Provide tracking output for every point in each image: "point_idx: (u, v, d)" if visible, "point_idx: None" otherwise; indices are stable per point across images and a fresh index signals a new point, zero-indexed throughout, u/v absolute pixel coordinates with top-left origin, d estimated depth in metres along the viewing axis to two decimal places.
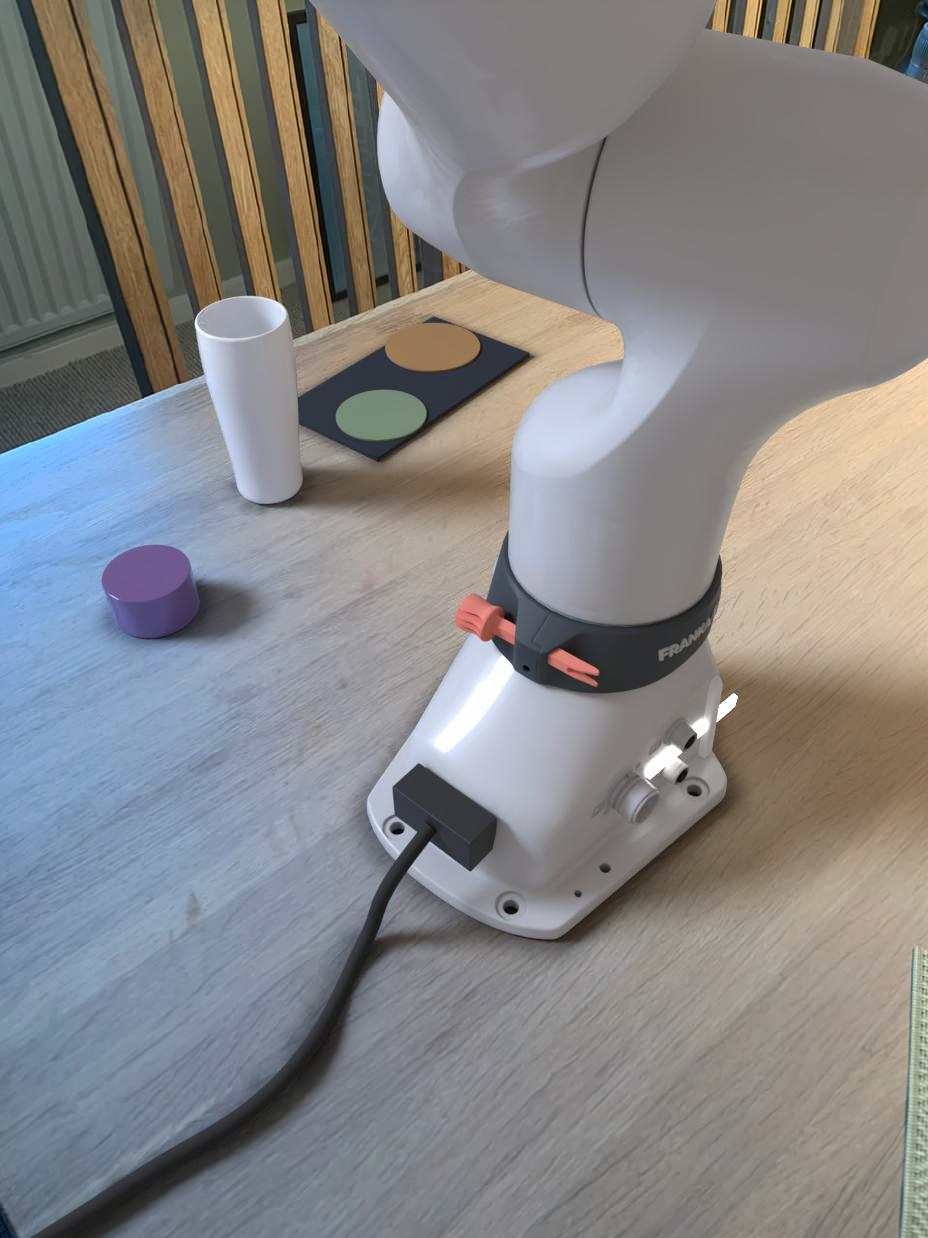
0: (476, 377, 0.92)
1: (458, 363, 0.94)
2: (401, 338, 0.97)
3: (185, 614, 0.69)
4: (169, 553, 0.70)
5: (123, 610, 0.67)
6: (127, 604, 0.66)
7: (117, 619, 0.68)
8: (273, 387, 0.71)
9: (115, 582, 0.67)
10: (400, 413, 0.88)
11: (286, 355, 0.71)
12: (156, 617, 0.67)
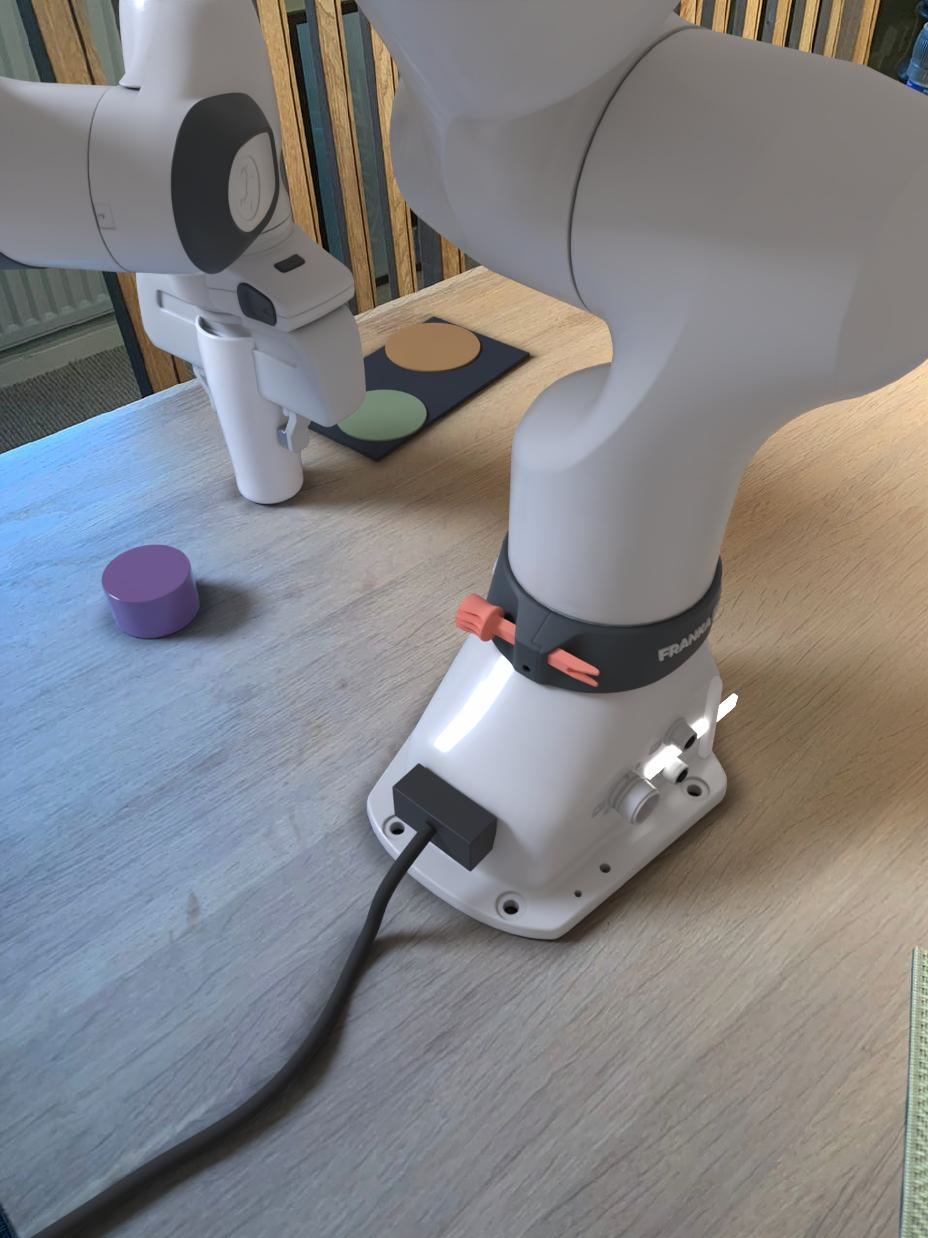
0: (476, 377, 0.92)
1: (458, 363, 0.94)
2: (401, 338, 0.97)
3: (185, 614, 0.69)
4: (169, 553, 0.70)
5: (123, 610, 0.67)
6: (127, 604, 0.66)
7: (117, 619, 0.68)
8: None
9: (115, 582, 0.67)
10: (400, 413, 0.88)
11: None
12: (156, 617, 0.67)
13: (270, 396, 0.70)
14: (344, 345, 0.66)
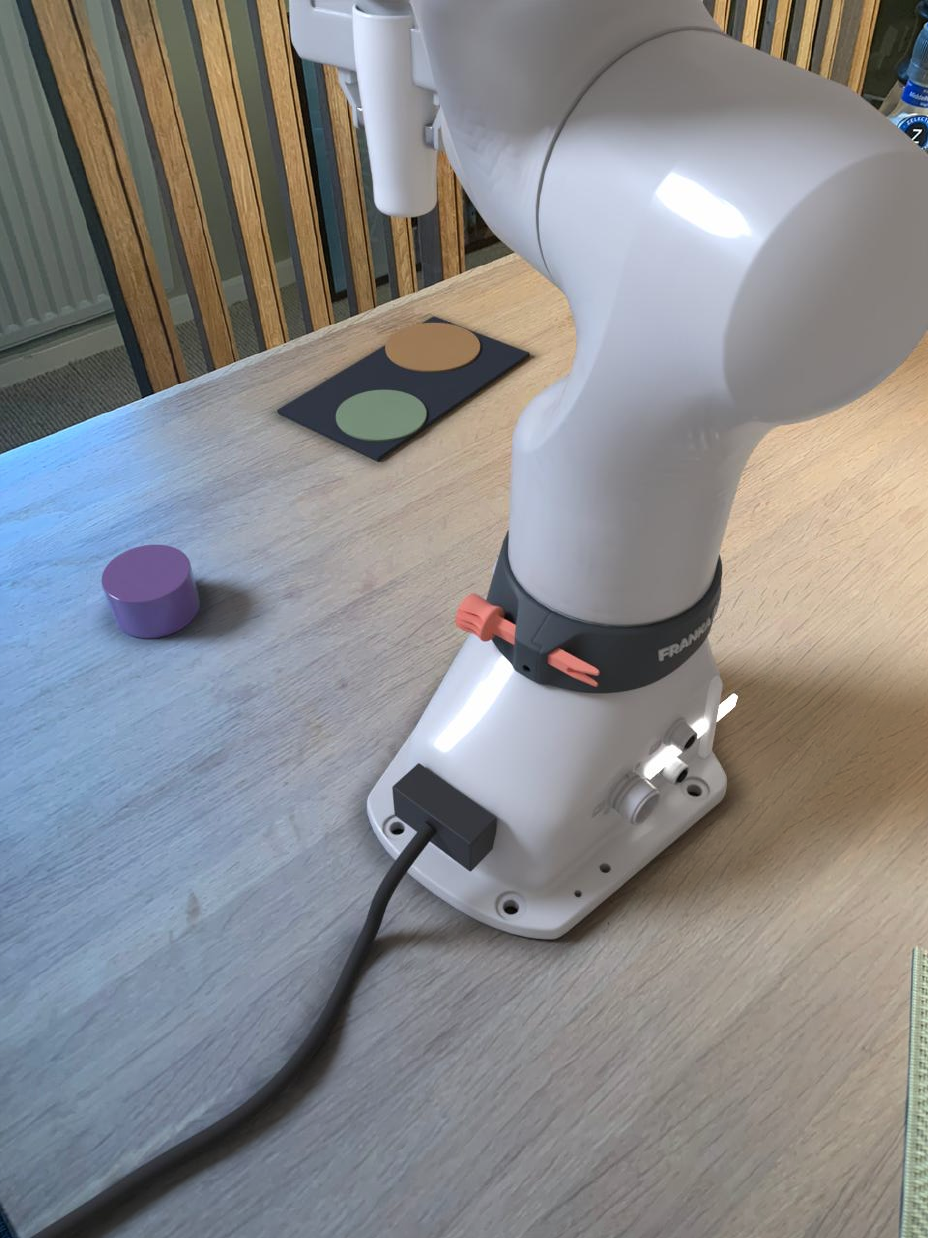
0: (476, 377, 0.92)
1: (458, 363, 0.94)
2: (401, 338, 0.97)
3: (185, 614, 0.69)
4: (169, 553, 0.70)
5: (123, 610, 0.67)
6: (127, 604, 0.66)
7: (117, 619, 0.68)
8: None
9: (115, 582, 0.67)
10: (400, 413, 0.88)
11: None
12: (156, 617, 0.67)
13: (424, 80, 0.74)
14: None
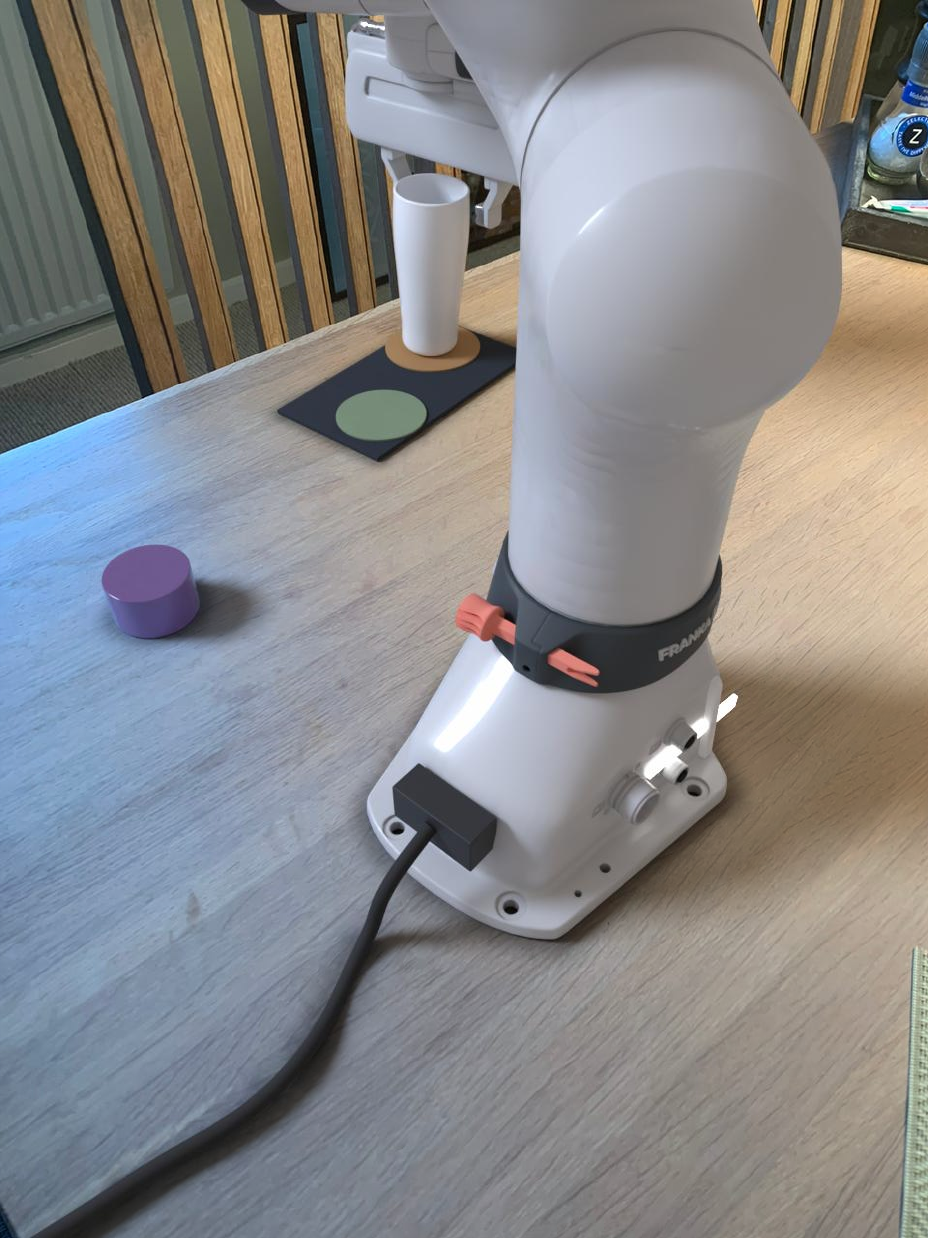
0: (476, 377, 0.92)
1: (458, 363, 0.94)
2: (401, 338, 0.97)
3: (185, 614, 0.69)
4: (169, 553, 0.70)
5: (123, 610, 0.67)
6: (127, 604, 0.66)
7: (117, 619, 0.68)
8: (453, 249, 0.86)
9: (115, 582, 0.67)
10: (400, 413, 0.88)
11: (466, 222, 0.86)
12: (156, 617, 0.67)
13: (467, 164, 0.81)
14: None
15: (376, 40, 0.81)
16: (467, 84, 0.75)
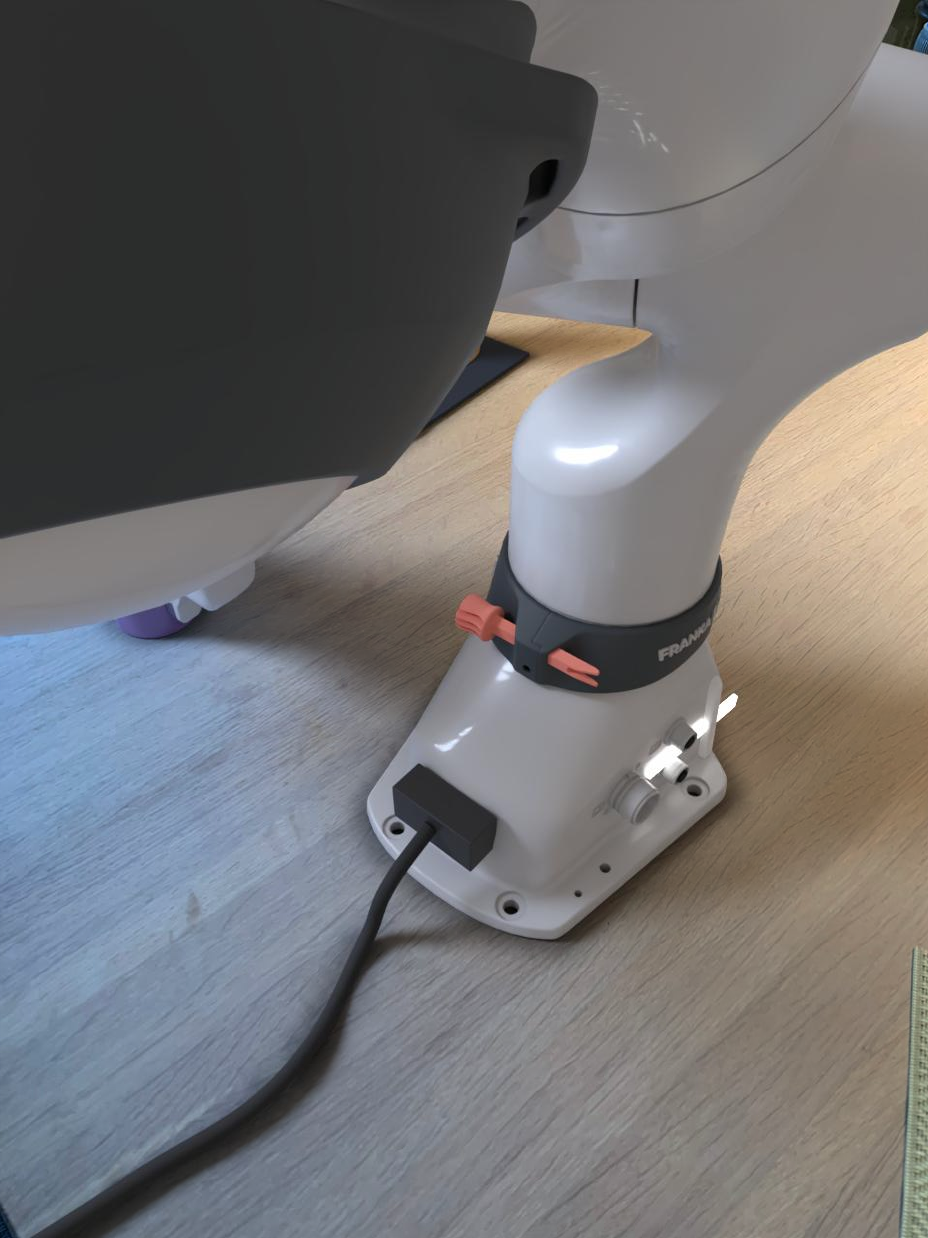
0: (476, 377, 0.92)
1: None
2: None
3: None
4: None
5: None
6: None
7: (117, 619, 0.68)
8: None
9: None
10: None
11: None
12: (156, 617, 0.67)
13: None
14: None
15: None
16: None
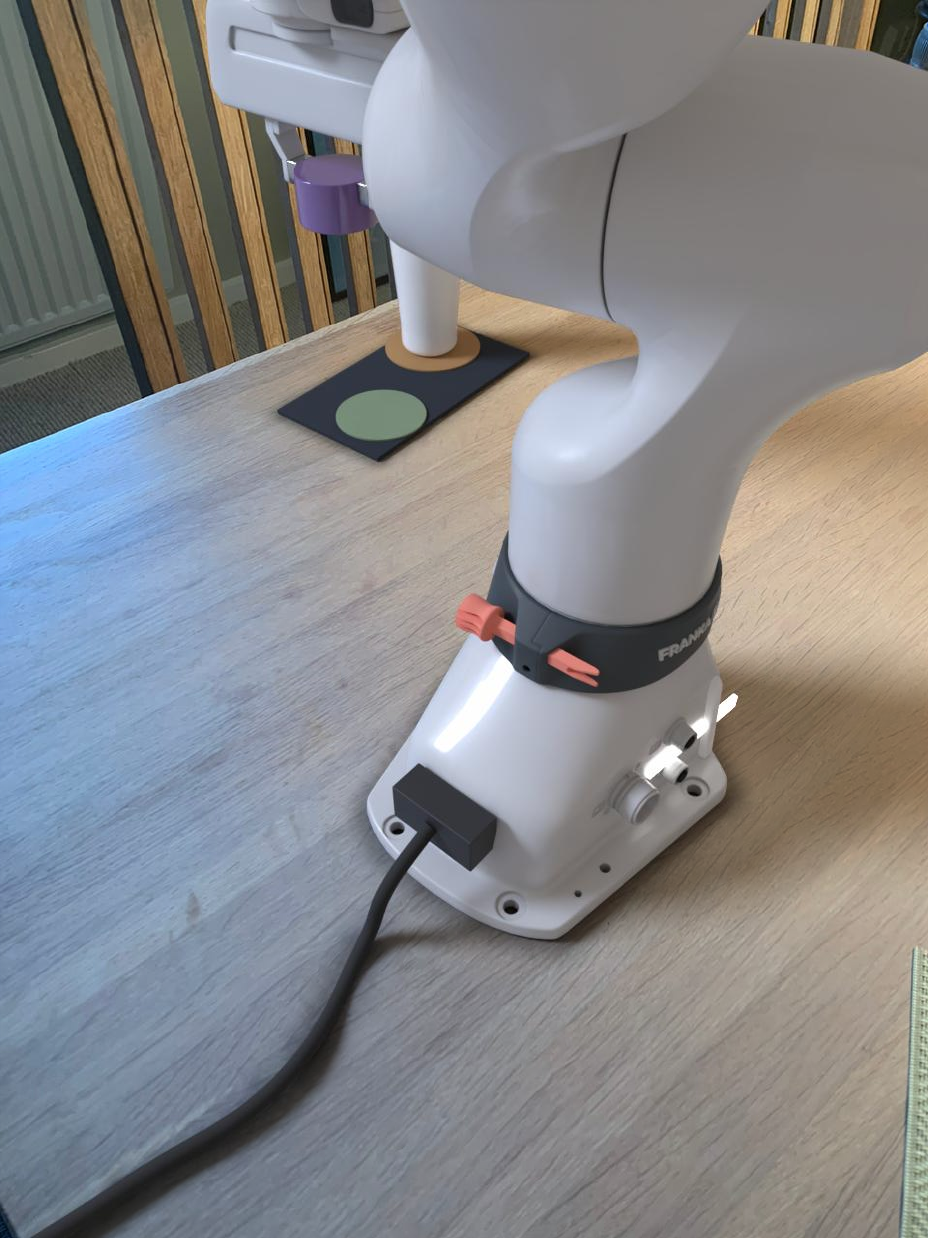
0: (476, 377, 0.92)
1: (458, 363, 0.94)
2: (401, 338, 0.97)
3: (372, 212, 0.71)
4: (353, 158, 0.72)
5: (317, 198, 0.69)
6: (322, 189, 0.68)
7: (307, 215, 0.70)
8: None
9: (307, 174, 0.70)
10: (400, 413, 0.88)
11: None
12: (348, 207, 0.69)
13: (355, 135, 0.65)
14: None
15: None
16: (348, 32, 0.60)
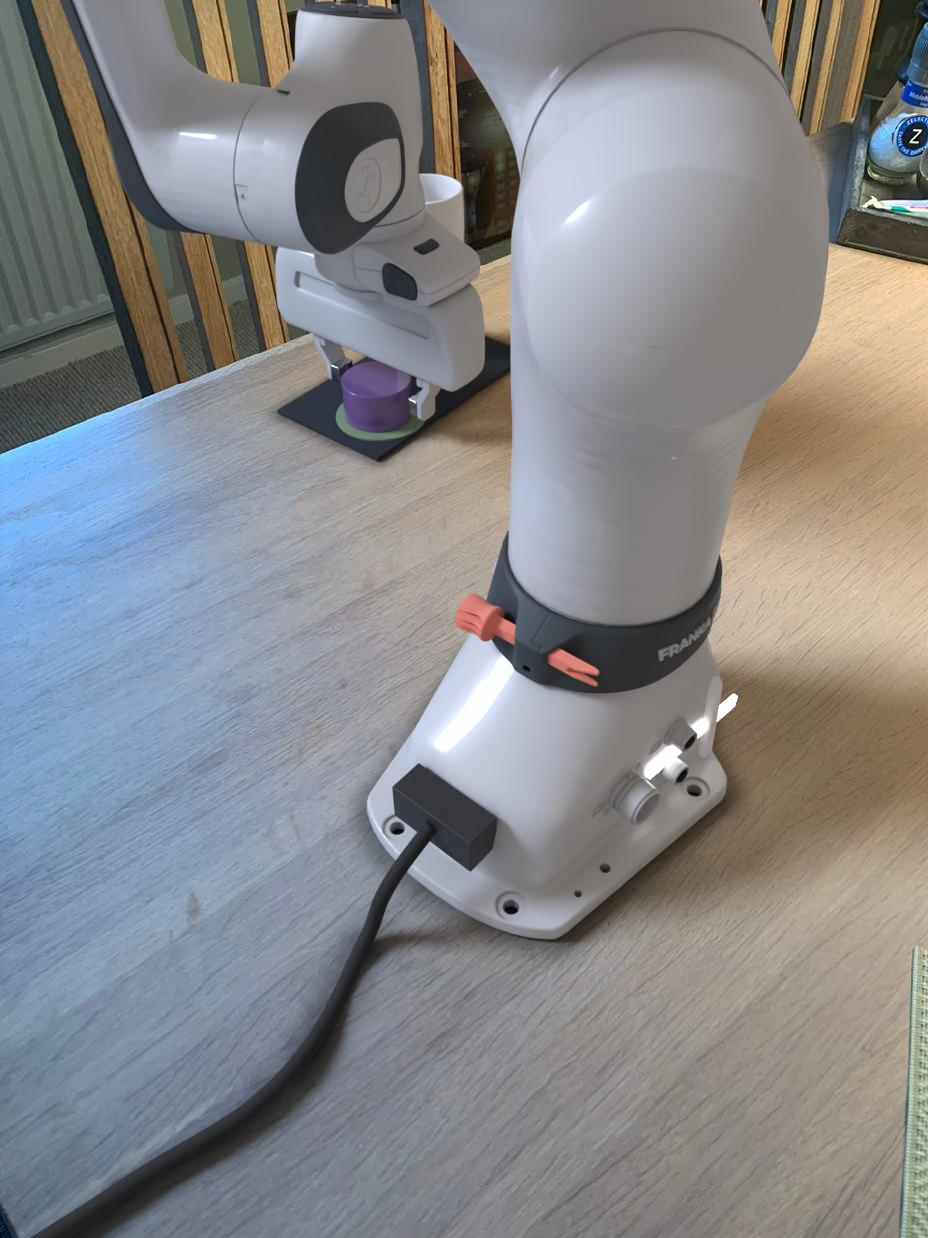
0: (476, 377, 0.92)
1: None
2: None
3: (406, 413, 0.86)
4: None
5: (361, 406, 0.84)
6: (366, 400, 0.83)
7: (353, 416, 0.85)
8: None
9: (353, 385, 0.84)
10: None
11: (460, 220, 0.86)
12: (387, 412, 0.84)
13: (398, 365, 0.80)
14: (471, 318, 0.75)
15: None
16: (395, 298, 0.74)
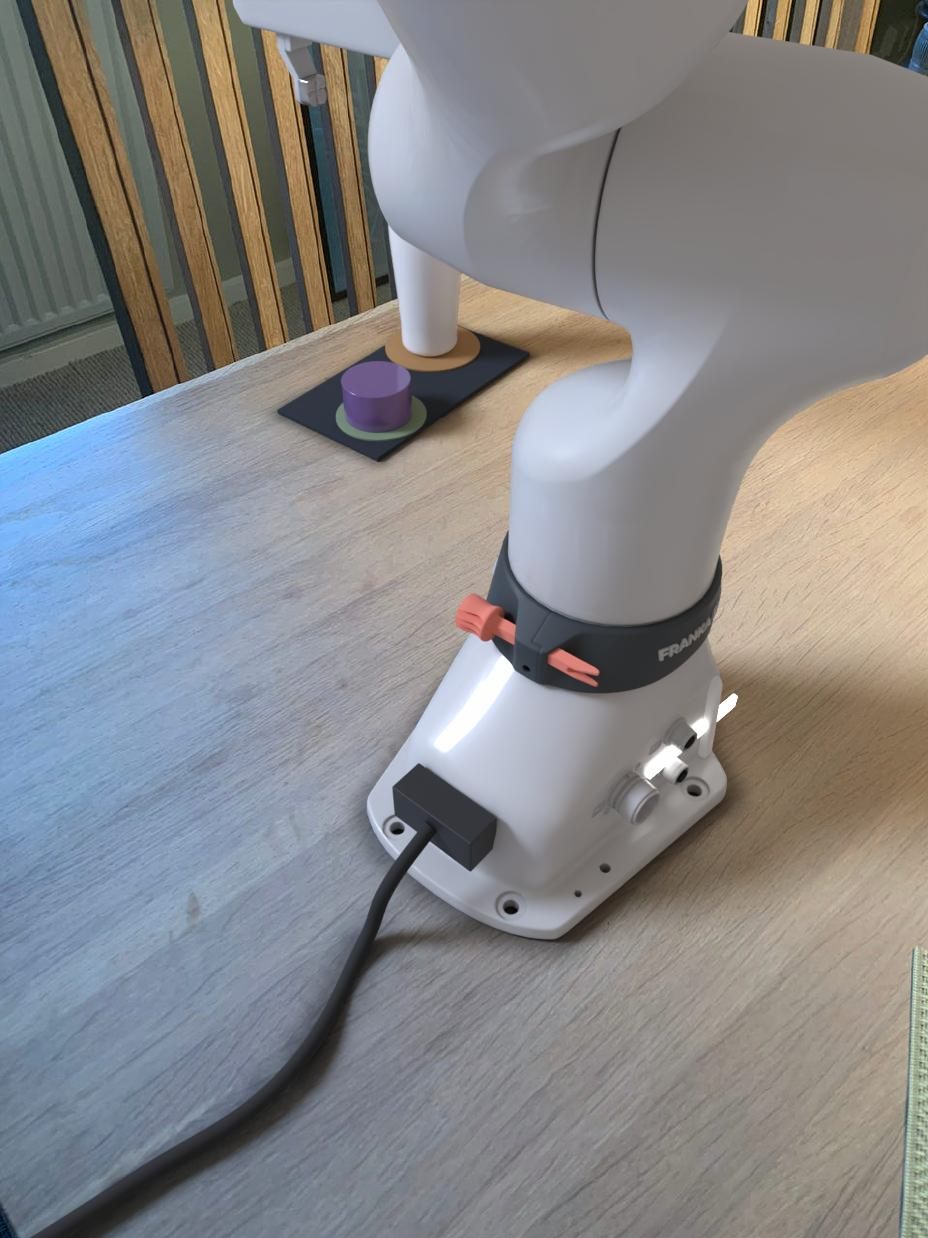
0: (476, 377, 0.92)
1: (458, 363, 0.94)
2: (401, 338, 0.97)
3: (406, 413, 0.86)
4: (391, 366, 0.86)
5: (361, 406, 0.84)
6: (366, 400, 0.83)
7: (353, 416, 0.85)
8: None
9: (353, 385, 0.84)
10: None
11: None
12: (387, 412, 0.84)
13: (380, 48, 0.64)
14: None
15: None
16: None
